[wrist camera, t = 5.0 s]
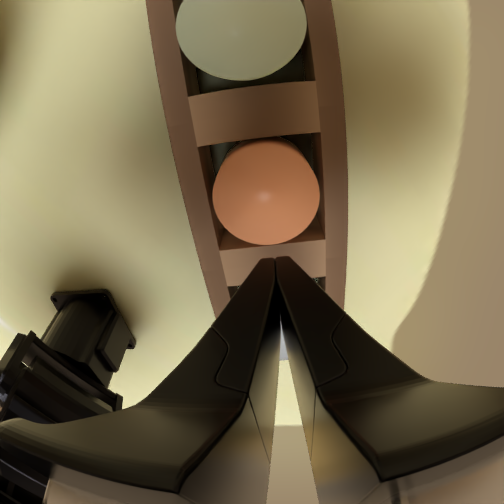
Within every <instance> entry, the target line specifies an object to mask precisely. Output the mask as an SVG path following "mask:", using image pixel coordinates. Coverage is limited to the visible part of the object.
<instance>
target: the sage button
mask: <svg viewBox="0 0 504 504" xmlns="http://www.w3.org/2000/svg"><path fill="white" fill-rule="evenodd" d="M306 27H307V21H306V14H305V10H304V7H303V5H302V2H301V1H300V0H183V2H182V4H181V6H180V8H179V11H178V14H177V18H176V35H177V39H178V42H179V45H180V47H181V49H182V51H183V52H184V54H185V55H186V57H187V58H188V59H189V60H190V61H191V62H192V63H193V64H194V65H195V66H197V67H198V68H199V69H201V70H203V71H204V72H206V73H208V74H211V75H213V76H216V77H219V78H223V79H229V80H238V81H247V80H255V79H259V78H263V77H265V76H268V75H270V74H272V73H274V72H275V71H277V70H279V69H280V68H282V67H283V66H285V65H286V64H287V63H288V62H289V61H290V60H291V59H292V58H293V57H294V56H295V55H296V53H297V52H298V51H299V49H300V47H301V45H302V43H303V41H304V38H305V34H306Z"/></svg>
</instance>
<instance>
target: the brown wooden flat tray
mask: <svg viewBox="0 0 504 504" xmlns="http://www.w3.org/2000/svg"><path fill="white" fill-rule="evenodd" d="M300 1H301V2H302V5H303V7H304V10H305V14H306V21H307V27H306V34H305V38H304V41H303V43H302V45H301V52H302V60H303V67H304V75H305V81H296V82H283V83H272V84H263V85H254V86H246V87H239V88H232V89H226V90H220V91H214V92H208V93H203V94H200V91H199V86H198V80H197V74H196V68H195V65H194V64H193V63H192V62H191V61H190V60H189V59H188V58H187V57H186V55H185V54H184V52H183V51H182V49H181V47H180V45H179V42H178V39H177V35H176V18H177V14H178V11H179V8H180V6H181V4H182V2H183V0H146V7H147V14H148V21H149V28H150V34H151V41H152V47H153V53H154V59H155V65H156V70H157V76H158V82H159V87H160V92H161V98H162V103H163V108H164V113H165V118H166V123H167V128H168V132H169V137H170V142H171V147H172V151H173V156H174V160H175V165H176V169H177V173H178V178H179V182H180V186H181V191H182V195H183V199H184V203H185V207H186V211H187V215H188V219H189V223H190V227H191V231H192V235H193V239H194V242H195V246H196V250H197V254H198V257H199V261H200V265H201V269H202V272H203V276H204V279H205V283H206V286H207V290H208V293H209V297H210V300H211V304H212V307H213V311H214V314H215V317H216V318H217V317H218V316H219V314H220V313H221V312H222V310H223V309H224V308H225V306H226V305H227V303H228V302H229V301H230V299H231V298H232V297H233V295H234V294H235V293H236V291H237V290H238V288H237V286H238V285H241V284H242V283H243V282H244V280H245V279H246V278H247V276H248V275H249V274H250V272H251V271H252V269H253V268H254V267H255V265H256V264H257V263H258V261H259V260H260V259H261V258H269V257H273V258H274V259H275V258H276V257H278V256H290V257H291V258H292V259H293V260H294V261H295V262H296V263H297V264H298V265H299V266H300V267H301V268H302V269H303V270H304V271H305V272H306V273H307V274H308V275H309V276H310V277H311V278H315V277H318V285H319V286H320V287H321V288H322V289H323V290H324V291H325V292H326V293H327V294H328V295H329V296H330V297H331V298H332V299H333V300H334V301H335V302H336V303H337V304H338V305H339V306H340V307H341V308H342V309H343V310H344V299H345V284H346V265H347V237H348V169H347V142H346V123H345V109H344V96H343V85H342V75H341V66H340V58H339V50H338V42H337V35H336V28H335V22H334V16H333V10H332V4H331V0H300ZM303 133H311V143H312V156H313V170H314V174H315V176H316V179H317V181H318V185H319V191H320V200H319V206H318V209H317V212H316V215H315V216H314V218H313V220H312V222H311V223H310V224H309V225H308V227H307V228H306V229H305V230H304V231H303V232H302V233H300V234H299V235H297V236H296V237H294V238H292V239H290V240H288V241H286V242H282V243H279V244H273V245H258V244H253V243H249V242H246V241H244V240H241V239H239V238H238V237H236V236H234V235H233V234H232V233H230V232H229V231H228V230H227V229H226V228H225V227H224V226H223V224H222V223H221V222H220V220H219V218H218V217H217V214H216V212H215V209H214V205H213V186H214V183H215V174H214V168H213V163H212V158H211V152H210V147H209V145H212V144H218V143H225V142H232V141H239V140H246V139H254V138H262V137H271V136H281V135H291V134H303Z"/></svg>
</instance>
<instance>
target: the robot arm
mask: <svg viewBox="0 0 504 504" xmlns="http://www.w3.org/2000/svg"><path fill="white" fill-rule="evenodd" d="M51 301H52V302H53V304H54V306H55V307H56V309H57V311H58V312H57V313H56V315H55V316H54V318H53V320H52V321H51V323H50V324H49V326H48V328H47V329H46V331H45V333H44V334H43V336H42V338H41V339H39V338H38V337H37V336H36V334H35V333H34V332H33V331H30V332H29V334H28V335H27V336H26V335H23V334H20V333H18V334H17V335H16V337H15V338H14V340H13V342H12V343H11V345H10V346H9V348H8V350H7V351H6V353H5V354H4V356H3V358H2V359H1V361H0V504H266V500H267V492H268V483H269V474H270V463H271V454H272V443H273V433H274V422H275V410H276V398H277V386H278V372H279V358H280V343H281V326H282V332H283V337H284V342H285V346H286V351H287V355H288V360H289V364H290V369H291V373H292V378H293V382H294V387H295V391H296V396H297V400H298V405H299V410H300V414H301V419H302V424H303V428H304V433H305V437H306V442H307V446H308V451H309V456H310V461H311V466H312V471H313V475H314V480H315V485H316V490H317V495H318V500H319V504H504V387H503V388H502V387H501V388H500V387H486V386H473V385H462V384H453V383H444V382H437V381H433V380H430V379H428V378H425V377H423V376H422V375H420V374H418V373H417V372H415V371H414V370H413V369H411V368H410V367H409V366H408V365H406V364H405V363H404V362H402V361H401V360H400V359H399V358H398V357H396V356H395V355H394V354H392V353H391V352H390V351H389V350H387V349H386V348H385V347H383V346H382V345H381V344H380V343H378V342H377V341H376V340H375V339H374V338H372V337H371V336H370V335H369V334H368V333H366V332H365V331H364V330H363V329H362V328H361V327H360V326H359V325H358V324H357V323H356V322H355V321H354V320H353V319H352V318H351V317H350V316H349V315H348V314H346V312H345V311H344V310H343V309H342V308H341V307H340V306H339V305H338V304H337V303H336V302H335V301H334V300H333V299H332V298H331V297H330V296H329V295H328V294H327V293H326V292H325V291H324V290H323V289H322V288H321V287H320V286H319V285H318V284H317V283H316V282H315V281H314V280H313V279H312V278H311V277H310V276H309V275H308V274H307V273H306V272H305V271H304V270H303V269H302V268H301V267H300V266H299V265H298V264H297V263H296V262H295V261H294V260H293V259H292V258H291V257H290V256H278V257H276V258H275V259H274V258H273V257H269V258H261V259H260V260H259V261H258V263H257V264H256V265H255V267H254V268H253V269H252V271H251V272H250V274H249V275H248V276H247V278H246V279H245V280H244V282H243V283H242V284H241V286H240V287H239V289H238V290H237V291H236V293H235V294H234V295H233V297H232V298H231V299H230V301H229V302H228V303H227V305H226V306H225V308H224V309H223V310H222V312H221V313H220V314H219V316H218V317H217V318H216V320H215V321H214V322H213V324H212V325H211V327H210V328H209V329H208V330H207V332H206V333H205V334H204V336H203V337H202V338H201V340H200V341H199V342H198V343H197V345H196V346H195V347H194V348H193V349H192V351H191V352H190V353H189V354H188V355H187V356H186V357H185V358H184V359H183V360H182V362H181V363H180V364H179V365H178V366H177V367H176V368H175V369H174V370H173V371H172V372H171V373H170V374H169V375H168V376H167V377H166V378H165V379H164V380H163V381H162V382H161V383H160V384H159V385H158V386H157V387H156V388H155V389H154V390H153V391H152V392H151V393H150V394H149V395H148V396H147V397H146V398H145V399H143V400H142V401H141V402H139V403H137V404H136V405H134V406H131V407H129V408H126V409H122V402H123V397H122V396H121V395H119V394H117V393H116V394H115V393H114V392H112V391H111V390H109V389H108V386H109V383H110V381H111V378H112V375H113V372H115V373H116V372H117V371H118V370H119V367H120V364H121V362H122V359H123V356H124V353H125V351H126V349H134V348H135V345H136V342H135V340H134V338H133V337H132V335H131V333H130V331H129V329H128V327H127V325H126V324H125V322H124V320H123V318H122V316H121V314H120V312H119V310H118V308H117V306H116V304H115V302H114V300H113V298H112V296H111V294H110V293H109V292H108V291H107V290H88V291H72V292H55V293H53V294H52V295H51ZM280 317H281V318H280ZM22 362H24V363H25V364H26V365H27V366H28V367H27V366H26V365H25V364H23V363H22Z"/></svg>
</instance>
